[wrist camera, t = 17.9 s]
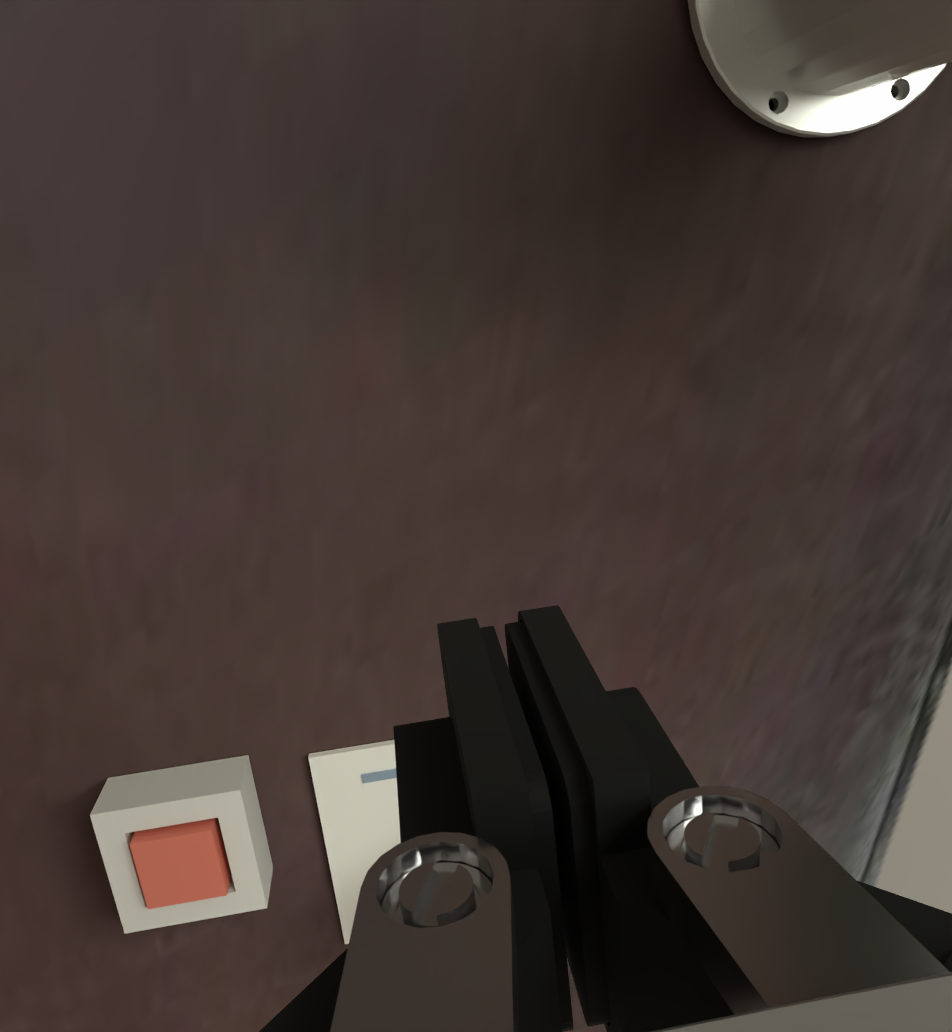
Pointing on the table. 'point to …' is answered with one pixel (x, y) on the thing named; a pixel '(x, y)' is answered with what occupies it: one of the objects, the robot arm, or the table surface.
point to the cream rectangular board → (356, 815)
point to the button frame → (178, 801)
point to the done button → (181, 863)
